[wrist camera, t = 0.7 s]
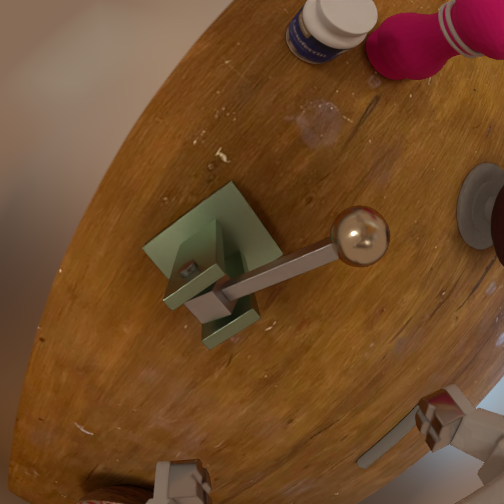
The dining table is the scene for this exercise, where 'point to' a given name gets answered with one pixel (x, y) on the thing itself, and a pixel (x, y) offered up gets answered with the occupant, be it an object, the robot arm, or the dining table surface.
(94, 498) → the bowl
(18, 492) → the dining table surface
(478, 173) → the mate gourd
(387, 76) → the pepper mill
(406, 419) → the gray half cylinder
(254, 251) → the bracket
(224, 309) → the lever
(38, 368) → the dining table surface
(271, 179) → the dining table surface
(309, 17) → the pill bottle
